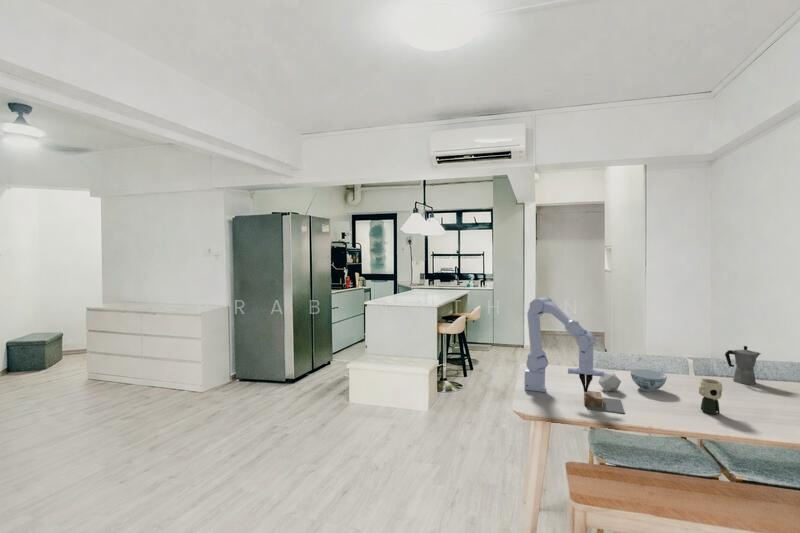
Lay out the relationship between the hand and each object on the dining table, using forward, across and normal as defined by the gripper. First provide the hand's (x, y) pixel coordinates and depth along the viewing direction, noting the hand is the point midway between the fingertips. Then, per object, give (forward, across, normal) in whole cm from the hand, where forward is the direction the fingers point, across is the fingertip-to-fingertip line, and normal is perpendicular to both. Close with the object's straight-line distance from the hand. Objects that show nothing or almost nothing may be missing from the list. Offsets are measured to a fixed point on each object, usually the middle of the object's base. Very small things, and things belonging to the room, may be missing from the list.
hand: (585, 391), depth 186 cm
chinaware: (+5, +28, +28) cm, 40 cm away
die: (+5, +11, +21) cm, 24 cm away
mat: (+5, +8, 0) cm, 9 cm away
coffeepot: (+5, +73, +57) cm, 93 cm away
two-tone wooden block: (+3, 0, 0) cm, 3 cm away
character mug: (+5, +47, +6) cm, 48 cm away
